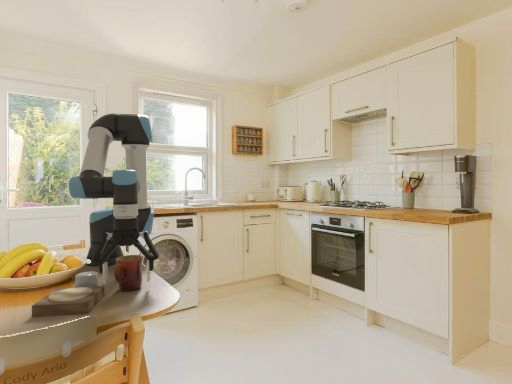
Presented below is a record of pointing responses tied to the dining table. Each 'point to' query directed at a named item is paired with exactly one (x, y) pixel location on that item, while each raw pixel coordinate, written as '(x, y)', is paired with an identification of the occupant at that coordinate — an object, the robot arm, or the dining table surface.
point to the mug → (129, 272)
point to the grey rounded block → (86, 279)
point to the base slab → (68, 301)
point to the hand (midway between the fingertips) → (127, 281)
